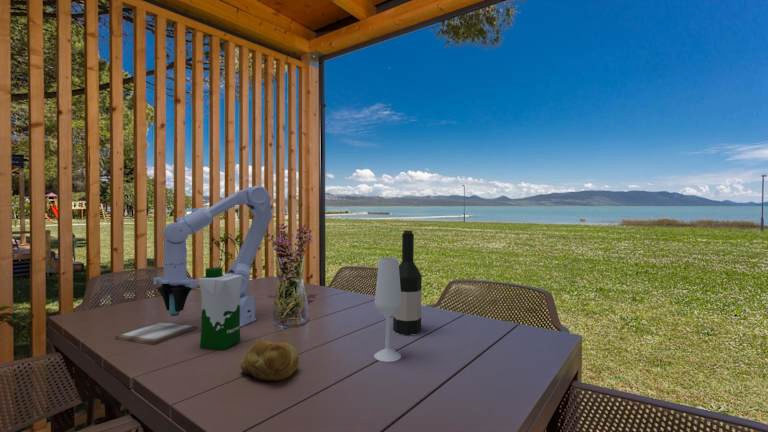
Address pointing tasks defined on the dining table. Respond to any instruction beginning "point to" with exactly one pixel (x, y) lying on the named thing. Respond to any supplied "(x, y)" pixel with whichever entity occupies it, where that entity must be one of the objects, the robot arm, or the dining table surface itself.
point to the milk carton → (220, 309)
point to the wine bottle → (408, 290)
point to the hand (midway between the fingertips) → (174, 310)
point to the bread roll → (270, 361)
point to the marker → (172, 306)
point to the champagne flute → (388, 301)
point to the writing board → (156, 332)
